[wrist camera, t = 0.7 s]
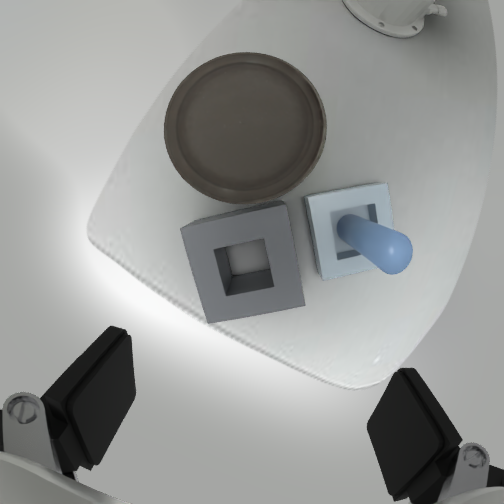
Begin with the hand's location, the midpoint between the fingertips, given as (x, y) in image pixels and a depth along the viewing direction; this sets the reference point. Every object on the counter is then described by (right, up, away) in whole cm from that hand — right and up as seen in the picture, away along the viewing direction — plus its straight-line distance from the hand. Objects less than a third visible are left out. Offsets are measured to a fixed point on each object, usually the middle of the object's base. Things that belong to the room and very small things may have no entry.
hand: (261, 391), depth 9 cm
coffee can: (0, +16, +21) cm, 26 cm away
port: (-1, +5, +24) cm, 24 cm away
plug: (+11, +7, +22) cm, 26 cm away
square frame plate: (+11, +8, +22) cm, 26 cm away
